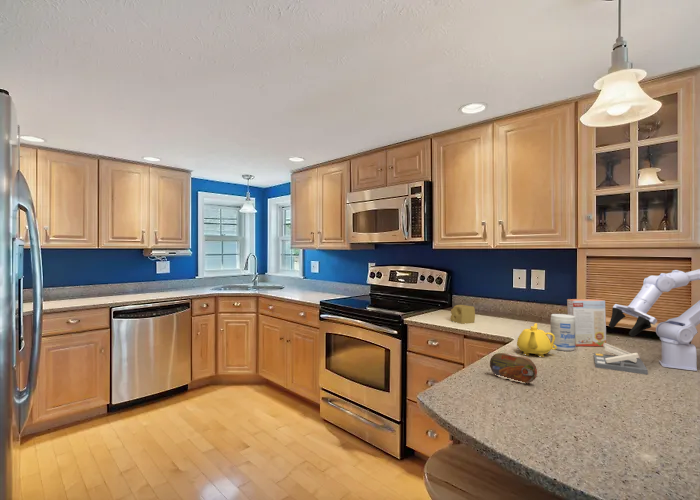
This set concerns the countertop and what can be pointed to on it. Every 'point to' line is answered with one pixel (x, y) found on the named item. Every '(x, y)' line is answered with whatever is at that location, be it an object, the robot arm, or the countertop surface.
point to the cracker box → (588, 321)
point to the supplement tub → (563, 331)
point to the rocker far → (616, 348)
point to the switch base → (620, 364)
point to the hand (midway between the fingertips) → (620, 331)
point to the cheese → (463, 314)
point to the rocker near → (622, 357)
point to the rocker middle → (617, 352)
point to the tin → (513, 367)
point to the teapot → (535, 341)
